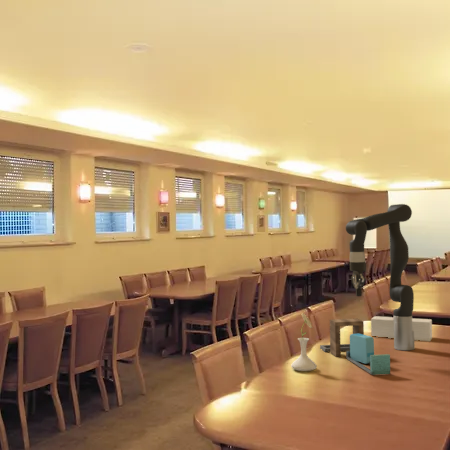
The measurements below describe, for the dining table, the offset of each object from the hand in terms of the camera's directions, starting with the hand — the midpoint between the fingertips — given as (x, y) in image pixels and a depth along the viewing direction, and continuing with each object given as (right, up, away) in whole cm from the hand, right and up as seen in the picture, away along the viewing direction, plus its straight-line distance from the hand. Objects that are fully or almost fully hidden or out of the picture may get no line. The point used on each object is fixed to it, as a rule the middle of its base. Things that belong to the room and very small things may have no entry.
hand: (358, 296), depth 251 cm
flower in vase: (-30, -30, -23) cm, 48 cm away
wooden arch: (-5, -30, +4) cm, 30 cm away
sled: (-2, -29, -20) cm, 35 cm away
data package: (-2, -29, -13) cm, 32 cm away
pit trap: (-6, -30, +15) cm, 34 cm away
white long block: (+36, -30, +43) cm, 64 cm away
